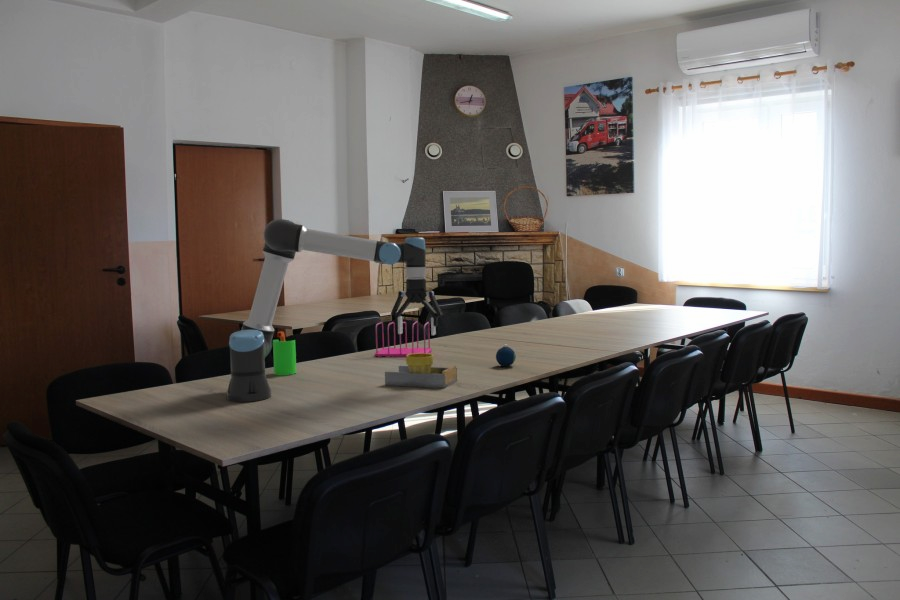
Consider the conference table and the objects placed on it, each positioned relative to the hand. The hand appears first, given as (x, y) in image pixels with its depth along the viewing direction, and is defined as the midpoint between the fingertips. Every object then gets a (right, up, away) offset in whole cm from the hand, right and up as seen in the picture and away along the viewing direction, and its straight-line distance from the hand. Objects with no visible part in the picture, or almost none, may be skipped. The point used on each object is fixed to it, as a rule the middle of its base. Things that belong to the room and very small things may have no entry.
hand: (416, 334), depth 268 cm
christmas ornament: (+36, -16, +34) cm, 52 cm away
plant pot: (+1, -18, +2) cm, 18 cm away
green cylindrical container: (-56, -18, +27) cm, 65 cm away
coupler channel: (+2, -19, +2) cm, 19 cm away
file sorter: (-10, -14, +72) cm, 74 cm away
